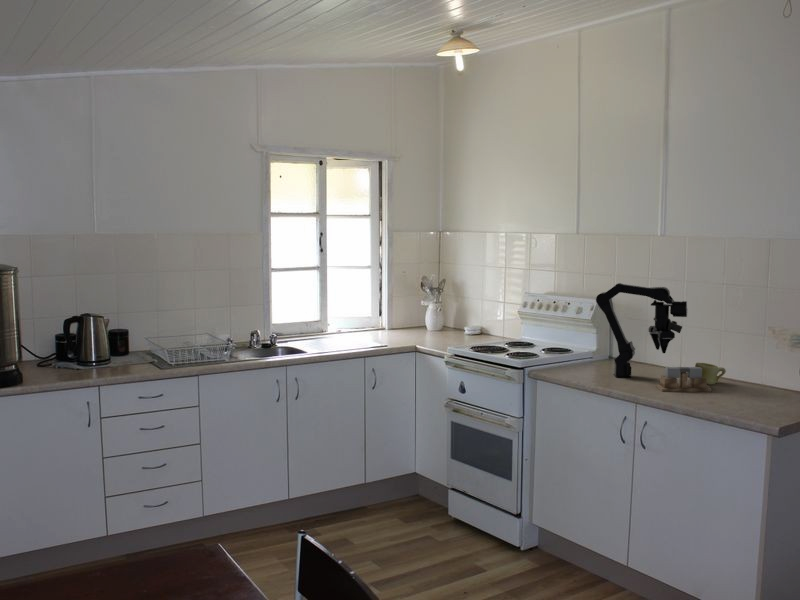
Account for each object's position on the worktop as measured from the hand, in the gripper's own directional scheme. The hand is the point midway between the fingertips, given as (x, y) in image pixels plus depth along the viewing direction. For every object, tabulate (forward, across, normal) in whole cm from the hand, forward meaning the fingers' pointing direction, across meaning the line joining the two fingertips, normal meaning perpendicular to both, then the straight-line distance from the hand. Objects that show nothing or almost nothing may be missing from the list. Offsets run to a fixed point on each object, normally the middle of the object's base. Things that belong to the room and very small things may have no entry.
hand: (660, 351), depth 331 cm
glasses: (+8, -19, -4) cm, 21 cm away
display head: (+12, -19, -4) cm, 23 cm away
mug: (+13, -7, -19) cm, 24 cm away
